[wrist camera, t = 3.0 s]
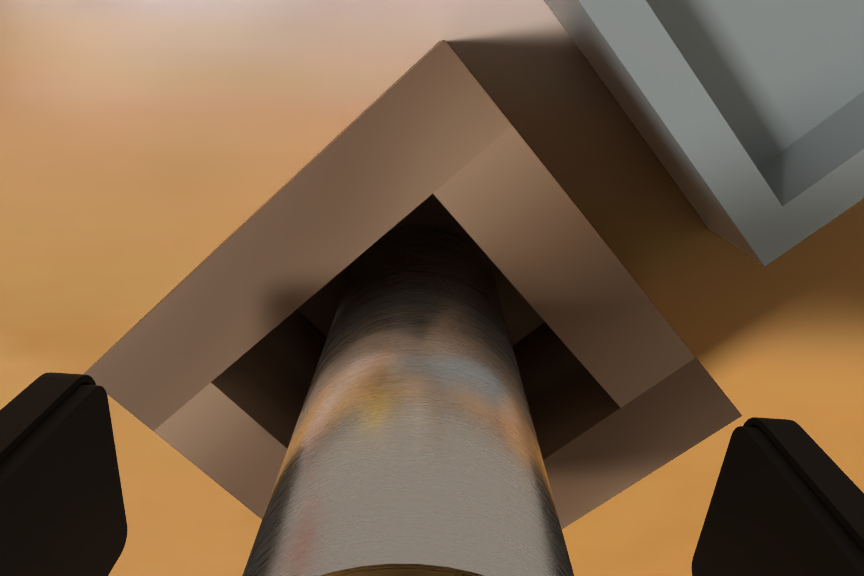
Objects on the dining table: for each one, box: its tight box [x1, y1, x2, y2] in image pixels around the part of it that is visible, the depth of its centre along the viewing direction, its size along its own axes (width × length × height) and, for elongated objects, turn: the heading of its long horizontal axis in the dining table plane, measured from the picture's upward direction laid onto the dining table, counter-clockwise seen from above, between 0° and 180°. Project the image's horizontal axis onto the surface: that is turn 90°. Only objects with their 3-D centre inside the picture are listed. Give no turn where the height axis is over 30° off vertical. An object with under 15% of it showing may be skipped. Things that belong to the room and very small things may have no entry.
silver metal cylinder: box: [243, 224, 574, 576], centre depth 10 cm, size 4×4×13 cm
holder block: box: [83, 40, 742, 529], centre depth 14 cm, size 9×9×6 cm
